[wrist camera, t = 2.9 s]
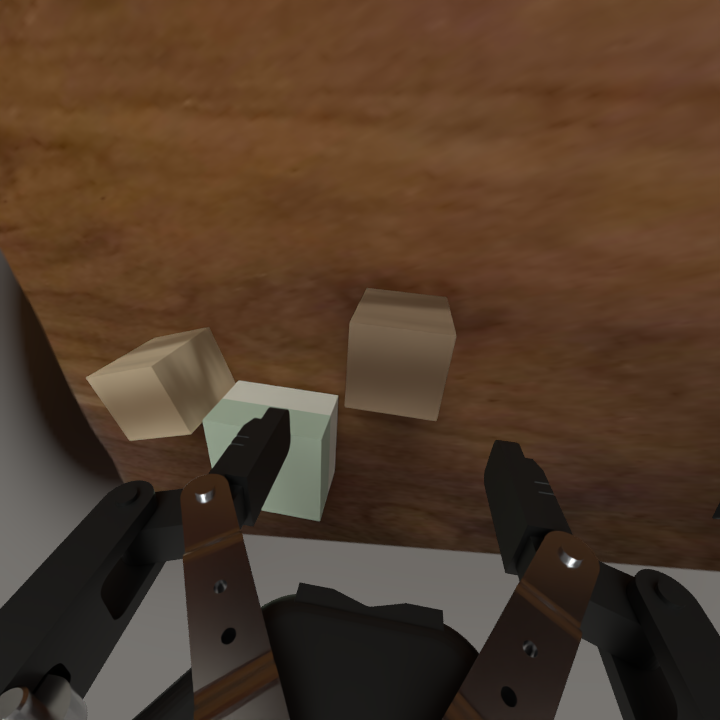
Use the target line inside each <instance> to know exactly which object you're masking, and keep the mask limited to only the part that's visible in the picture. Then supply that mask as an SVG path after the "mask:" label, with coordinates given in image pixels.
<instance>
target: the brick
mask: <svg viewBox="0 0 720 720" xmlns="http://www.w3.org/2000/svg"><path fill="white" fill-rule="evenodd" d="M86 379H87V380H88V382H89V383H90V385H91V386H92V387H93V389H94V390H95V392H96V393H97V395H98V396H99V398H100V399H101V400H102V402H103V403H104V405H105V406H106V408H107V409H108V410H109V412H110V413H111V415H112V416H113V418H114V419H115V420H116V422H117V423H118V425H119V426H120V428H121V429H122V430H123V432H124V433H125V435H126V436H127V438H128V439H129V440H130V441H132V440H142V439H151V438H160V437H170V436H179V435H189V434H192V433H193V432H194V431H195V430H196V428H197V427H198V426H199V425H200V424H201V423H202V422H203V421H202V420H203V419H204V418H205V417H206V416H207V414H208V413H209V412H210V411H211V410H212V409H213V408H214V407H215V406H216V405H217V404H218V403H219V401H220V400H221V399H222V398H223V397H224V396H225V395H226V394H227V393H228V392H229V391H230V389H231V388H232V387H233V386H234V385H235V384H236V383H235V381H234V379H233V377H232V375H231V372H230V370H229V368H228V366H227V364H226V362H225V360H224V358H223V356H222V354H221V351H220V349H219V347H218V345H217V343H216V341H215V339H214V337H213V335H212V332H211V330H210V328H209V327H207V328H202V329H197V330H192V331H187V332H182V333H177V334H172V335H167V336H162V337H157V338H153V339H152V340H150V341H148V342H146V343H145V344H143V345H141V346H140V347H138V348H136V349H134V350H133V351H131V352H129V353H128V354H126V355H124V356H122V357H121V358H119V359H117V360H115V361H114V362H112V363H110V364H109V365H107V366H105V367H103V368H102V369H100V370H98V371H97V372H95V373H93V374H91V375H90V376H88V377H86Z"/></svg>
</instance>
